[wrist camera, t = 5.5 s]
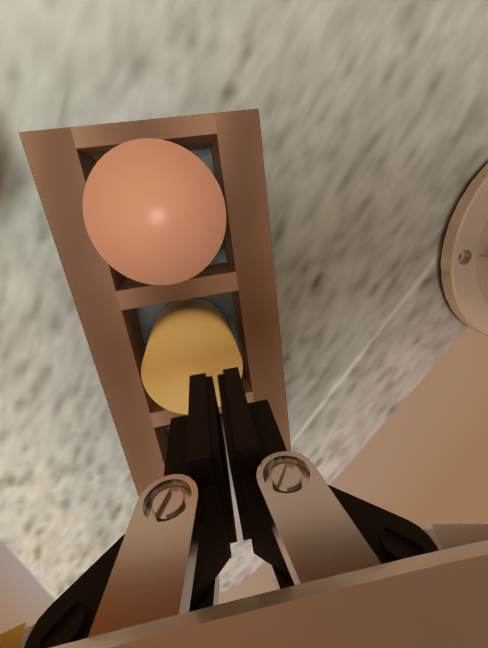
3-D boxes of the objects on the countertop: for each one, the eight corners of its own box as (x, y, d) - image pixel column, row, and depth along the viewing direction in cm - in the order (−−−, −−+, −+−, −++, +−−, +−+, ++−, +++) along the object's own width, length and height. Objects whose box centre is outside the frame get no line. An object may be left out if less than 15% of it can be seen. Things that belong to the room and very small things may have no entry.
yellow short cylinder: (223, 291, 17) (235, 315, 13) (234, 362, 19) (248, 403, 15) (142, 305, 17) (129, 335, 13) (160, 377, 18) (154, 423, 14)
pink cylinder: (205, 155, 14) (215, 130, 10) (221, 257, 15) (235, 274, 11) (100, 167, 13) (62, 146, 9) (127, 272, 15) (105, 295, 11)
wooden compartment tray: (244, 127, 15) (258, 108, 13) (280, 451, 22) (294, 484, 20) (50, 148, 14) (18, 132, 11) (152, 481, 21) (147, 522, 18)
